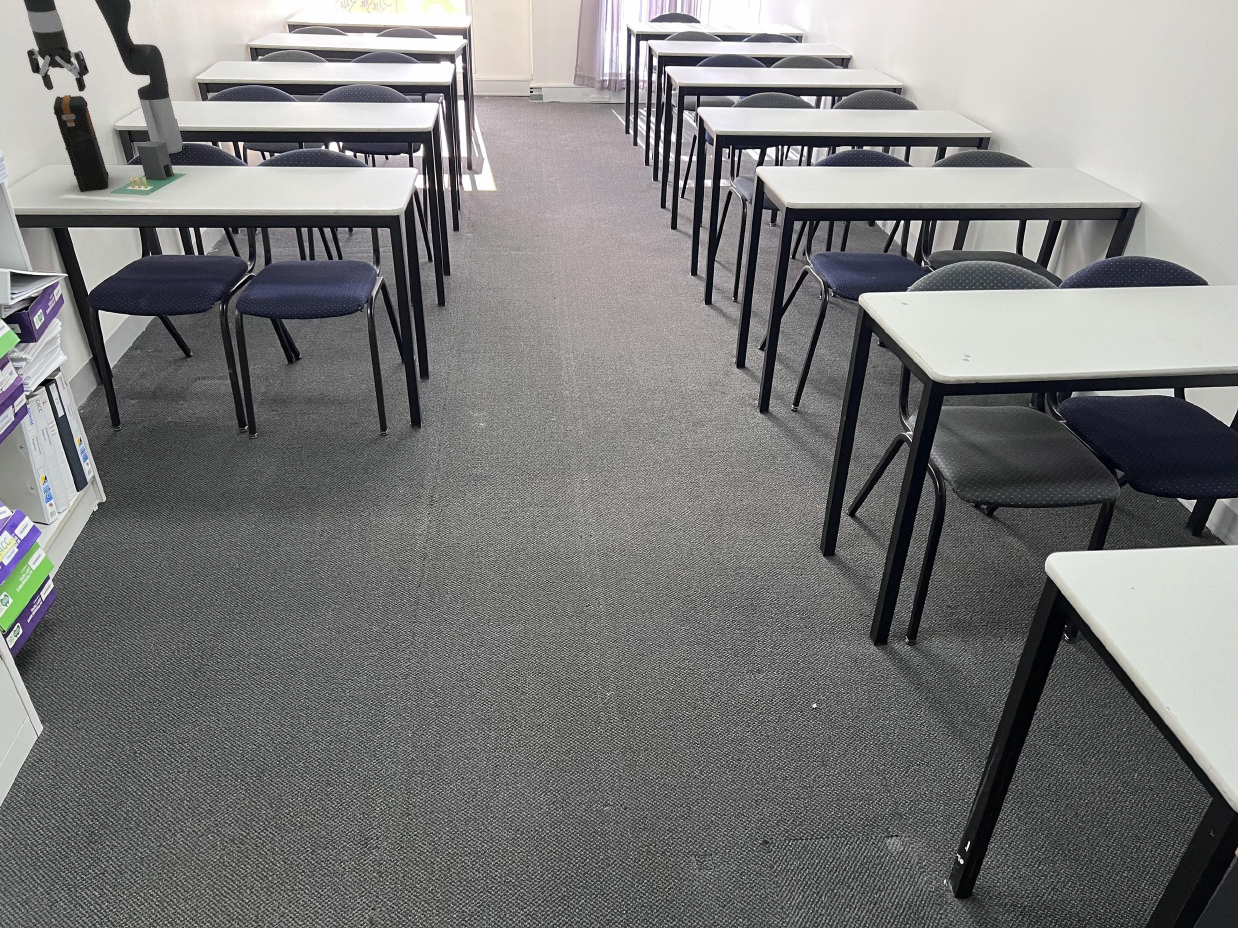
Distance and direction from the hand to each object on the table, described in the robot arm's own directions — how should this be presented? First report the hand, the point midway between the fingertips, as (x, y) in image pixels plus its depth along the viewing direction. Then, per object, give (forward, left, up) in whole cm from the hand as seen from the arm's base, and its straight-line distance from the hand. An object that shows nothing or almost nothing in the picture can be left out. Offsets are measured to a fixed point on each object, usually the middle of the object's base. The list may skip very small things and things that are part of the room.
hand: (66, 90), depth 253 cm
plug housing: (-12, +13, -27) cm, 33 cm away
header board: (-6, +13, -28) cm, 32 cm away
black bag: (-3, -3, -29) cm, 29 cm away
